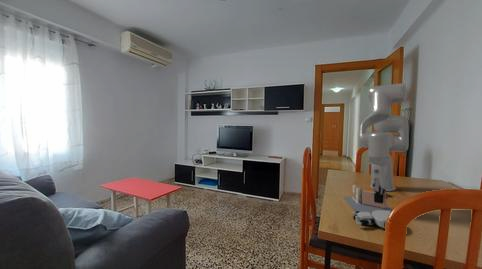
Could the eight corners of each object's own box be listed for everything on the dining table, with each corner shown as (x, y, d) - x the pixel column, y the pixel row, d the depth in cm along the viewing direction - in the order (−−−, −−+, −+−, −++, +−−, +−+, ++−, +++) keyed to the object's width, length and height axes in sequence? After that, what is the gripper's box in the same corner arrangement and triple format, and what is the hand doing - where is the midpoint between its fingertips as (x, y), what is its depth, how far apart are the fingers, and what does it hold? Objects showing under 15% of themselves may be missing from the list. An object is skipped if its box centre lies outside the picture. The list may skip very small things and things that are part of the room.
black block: (388, 201, 103) (388, 192, 102) (371, 198, 107) (371, 189, 107) (391, 194, 112) (391, 186, 112) (375, 192, 117) (375, 184, 116)
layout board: (343, 197, 108) (343, 196, 107) (377, 198, 104) (377, 198, 104) (356, 212, 89) (356, 211, 89) (398, 214, 86) (398, 213, 86)
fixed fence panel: (352, 198, 106) (352, 184, 106) (355, 198, 106) (355, 184, 106) (358, 204, 98) (358, 189, 97) (362, 204, 97) (362, 189, 97)
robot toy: (357, 232, 74) (406, 235, 70) (356, 220, 74) (405, 222, 70) (350, 218, 86) (393, 219, 81) (349, 207, 86) (391, 208, 81)
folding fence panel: (362, 203, 97) (362, 190, 97) (362, 202, 98) (362, 190, 98) (385, 208, 91) (385, 194, 91) (385, 207, 92) (385, 194, 91)
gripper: (387, 163, 82) (387, 209, 82) (391, 159, 93) (391, 199, 93) (365, 162, 87) (365, 205, 87) (371, 158, 98) (371, 196, 98)
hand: (378, 202), depth 90 cm, fingers closed
